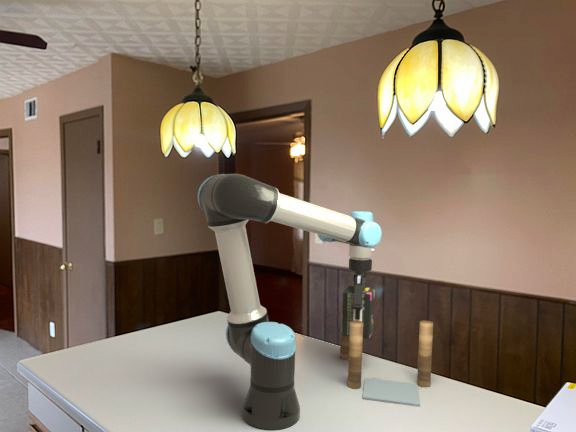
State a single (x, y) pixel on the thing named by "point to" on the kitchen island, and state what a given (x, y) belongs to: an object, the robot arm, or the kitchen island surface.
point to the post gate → (344, 343)
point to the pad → (391, 391)
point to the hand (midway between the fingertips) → (358, 323)
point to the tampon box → (366, 310)
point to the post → (425, 353)
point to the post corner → (355, 354)
